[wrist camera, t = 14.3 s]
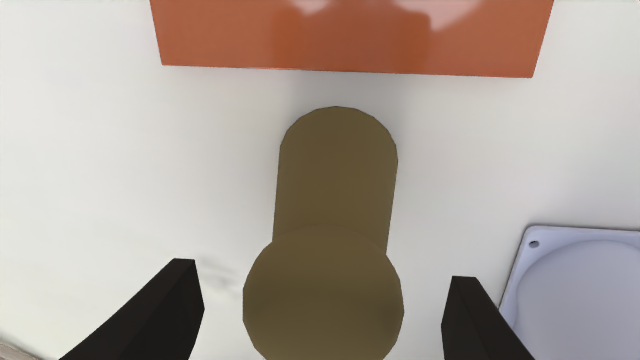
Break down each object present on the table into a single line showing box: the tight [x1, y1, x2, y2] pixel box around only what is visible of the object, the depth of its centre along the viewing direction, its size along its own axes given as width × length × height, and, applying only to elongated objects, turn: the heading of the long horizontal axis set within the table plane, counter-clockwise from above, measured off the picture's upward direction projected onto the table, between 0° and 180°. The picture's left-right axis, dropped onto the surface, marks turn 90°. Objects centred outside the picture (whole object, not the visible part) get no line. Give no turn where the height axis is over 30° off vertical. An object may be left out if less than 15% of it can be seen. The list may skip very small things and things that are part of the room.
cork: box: [243, 106, 404, 360], centre depth 17 cm, size 6×6×11 cm
